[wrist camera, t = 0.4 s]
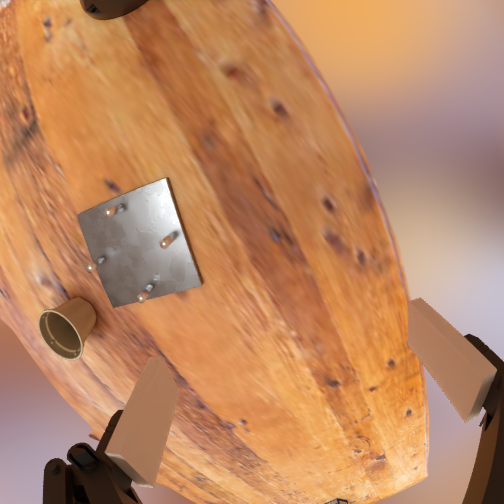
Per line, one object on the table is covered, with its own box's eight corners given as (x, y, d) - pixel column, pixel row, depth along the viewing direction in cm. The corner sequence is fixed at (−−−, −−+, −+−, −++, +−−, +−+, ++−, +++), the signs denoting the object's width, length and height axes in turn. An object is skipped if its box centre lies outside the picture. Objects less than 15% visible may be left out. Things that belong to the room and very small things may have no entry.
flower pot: (113, 317, 43) (91, 343, 35) (90, 342, 45) (69, 369, 37) (76, 278, 42) (48, 298, 33) (56, 307, 43) (31, 329, 35)
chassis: (80, 213, 38) (62, 219, 33) (168, 177, 37) (156, 179, 32) (116, 304, 43) (102, 319, 38) (203, 282, 42) (196, 297, 37)
